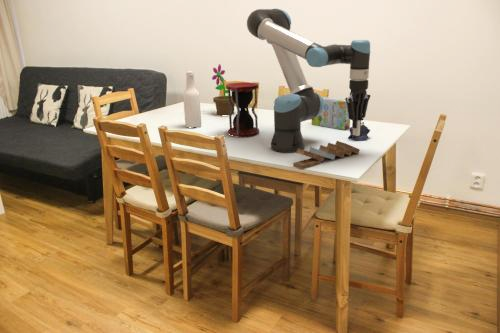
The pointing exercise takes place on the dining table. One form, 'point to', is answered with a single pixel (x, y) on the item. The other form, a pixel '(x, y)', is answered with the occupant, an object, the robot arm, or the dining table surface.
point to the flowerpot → (221, 101)
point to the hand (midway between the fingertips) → (356, 135)
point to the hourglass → (242, 109)
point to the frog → (363, 133)
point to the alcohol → (191, 102)
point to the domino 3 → (322, 153)
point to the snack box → (333, 114)
